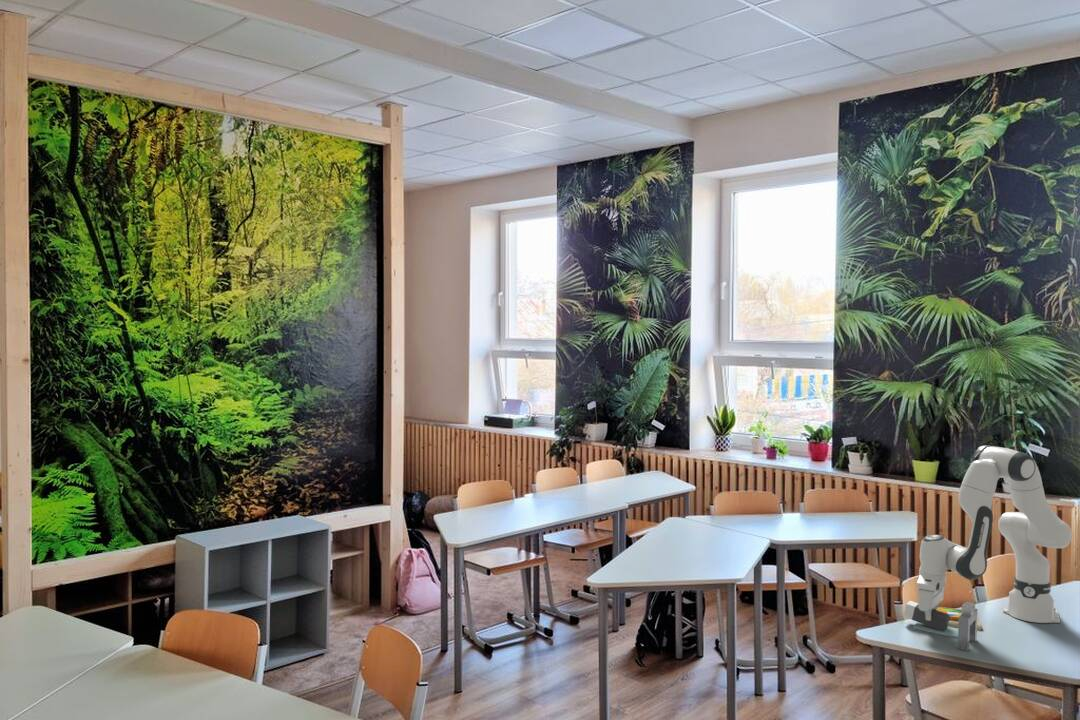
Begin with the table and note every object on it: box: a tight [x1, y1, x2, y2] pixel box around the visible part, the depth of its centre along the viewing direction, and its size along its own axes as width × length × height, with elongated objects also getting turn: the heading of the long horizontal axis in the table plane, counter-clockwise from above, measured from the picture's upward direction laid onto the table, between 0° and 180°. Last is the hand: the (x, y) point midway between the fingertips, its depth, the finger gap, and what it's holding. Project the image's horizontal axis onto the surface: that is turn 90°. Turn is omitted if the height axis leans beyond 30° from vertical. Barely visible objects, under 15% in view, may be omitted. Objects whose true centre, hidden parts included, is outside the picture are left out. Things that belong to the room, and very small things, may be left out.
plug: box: [903, 600, 950, 632], centre depth 309 cm, size 5×14×5 cm, turn 52°
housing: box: [957, 601, 978, 652], centre depth 292 cm, size 14×3×14 cm, turn 141°
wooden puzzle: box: [937, 606, 983, 632], centre depth 318 cm, size 18×19×4 cm
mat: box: [912, 621, 958, 639], centre depth 306 cm, size 9×18×1 cm, turn 51°
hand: (930, 617), depth 308 cm, fingers closed on plug, 5 cm apart
